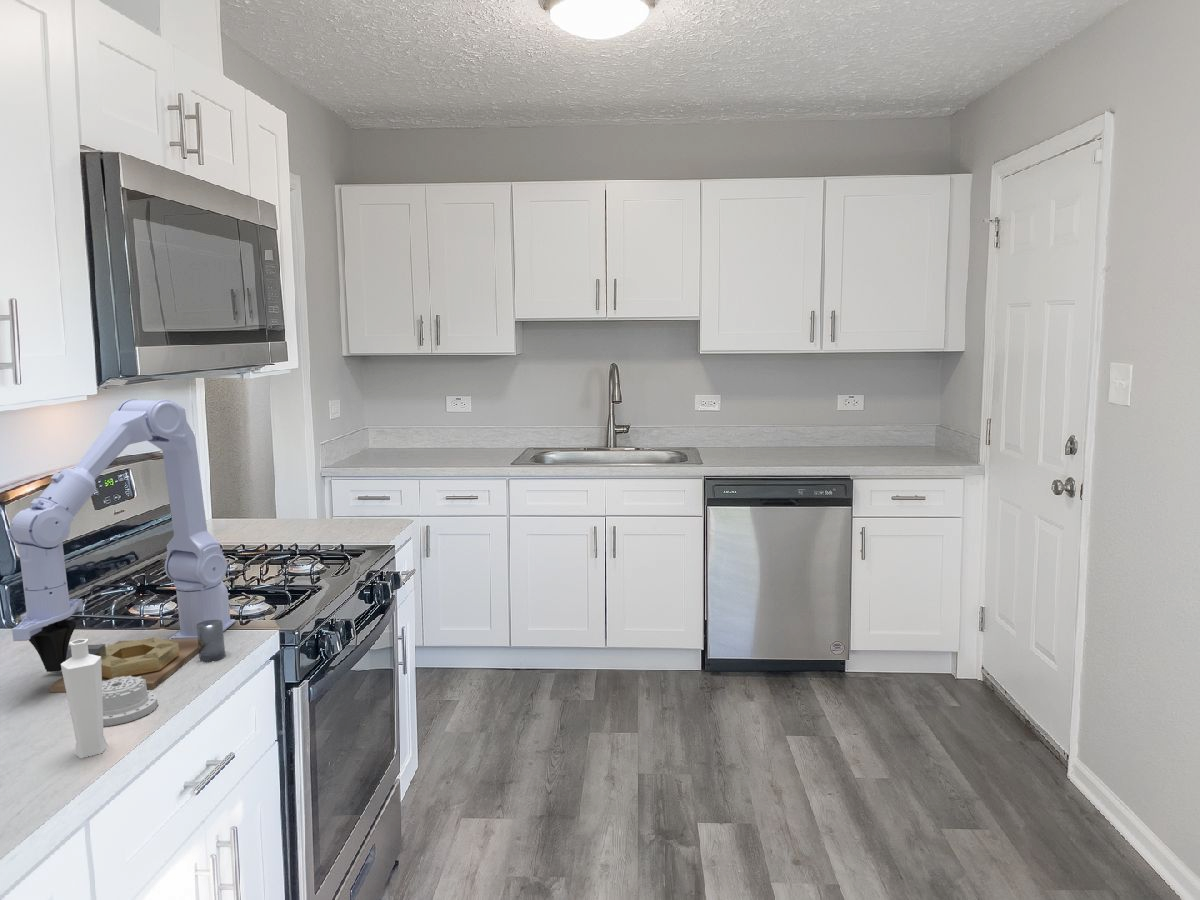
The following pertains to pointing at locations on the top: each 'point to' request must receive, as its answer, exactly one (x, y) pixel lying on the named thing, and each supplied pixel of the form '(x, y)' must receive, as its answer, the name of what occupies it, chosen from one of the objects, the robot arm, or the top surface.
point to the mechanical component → (126, 700)
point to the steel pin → (210, 640)
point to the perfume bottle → (85, 698)
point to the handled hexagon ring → (133, 656)
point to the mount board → (154, 678)
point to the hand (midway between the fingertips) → (55, 670)
